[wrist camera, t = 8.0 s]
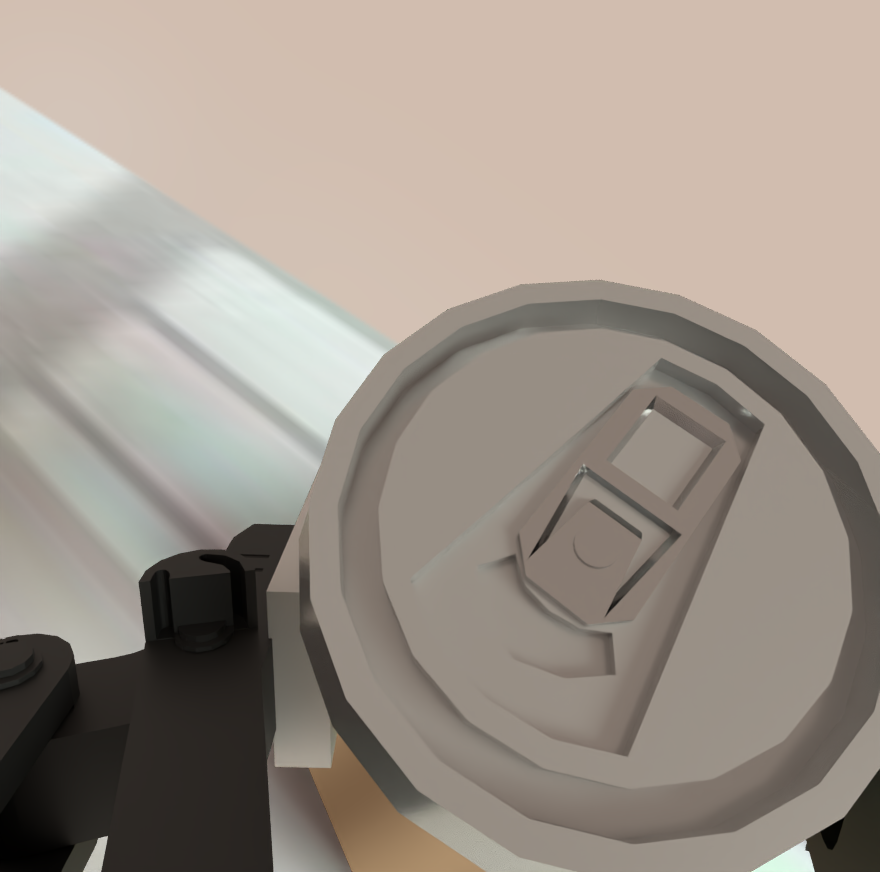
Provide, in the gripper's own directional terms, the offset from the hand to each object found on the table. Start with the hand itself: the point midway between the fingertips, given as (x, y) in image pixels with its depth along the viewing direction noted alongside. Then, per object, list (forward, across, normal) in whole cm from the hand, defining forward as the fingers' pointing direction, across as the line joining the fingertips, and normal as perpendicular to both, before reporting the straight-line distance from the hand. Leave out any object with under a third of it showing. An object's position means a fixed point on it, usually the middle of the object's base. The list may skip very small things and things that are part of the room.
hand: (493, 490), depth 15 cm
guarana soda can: (0, 0, -5) cm, 5 cm away
